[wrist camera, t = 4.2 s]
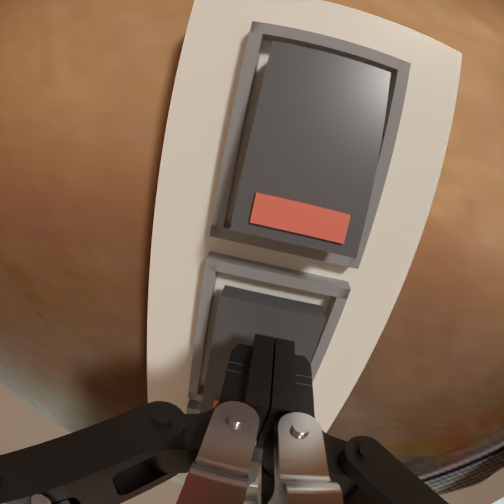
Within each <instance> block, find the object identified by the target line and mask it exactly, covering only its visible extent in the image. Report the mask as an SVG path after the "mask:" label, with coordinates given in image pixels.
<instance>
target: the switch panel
mask: <svg viewBox="0 0 504 504" xmlns="http://www.w3.org/2000/svg"><path fill="white" fill-rule="evenodd" d="M273 41H278V42H283V43H288V44H293V45H298V46H303V47H307V48H311V49H315V50H320V51H323V52H327V53H331V54H335V55H339V56H342V57H346V58H349V59H352V60H356V61H359V62H362V63H365V64H368V65H371V66H374V67H377V68H380V69H383V70H386V71H389V72H391V76H390V84H389V93H388V100H387V108H386V115H385V122H384V128H383V134H382V140H381V146H380V152H379V158H378V163H377V168H376V174H375V179H374V184H373V189H372V193H371V198H370V203H369V207H368V212H367V216H366V220H365V225H364V229H363V233H362V237H361V241H360V245H359V249H358V253H357V257H356V258H352V257H347V256H343V255H339V254H334V253H330V252H326V251H321V250H317V249H312V248H308V247H304V246H299V245H295V244H290V243H286V242H281V241H277V240H272V239H268V238H263V237H259V236H254V235H250V234H245V233H241V232H236V231H232V230H230V226H231V222H232V217H233V212H234V207H235V203H236V198H237V193H238V189H239V184H240V179H241V175H242V170H243V166H244V161H245V157H246V152H247V148H248V143H249V139H250V134H251V130H252V126H253V121H254V117H255V113H256V108H257V104H258V100H259V96H260V91H261V87H262V83H263V79H264V75H265V71H266V66H267V62H268V58H269V54H270V50H271V46H272V42H273ZM461 61H462V53H460V52H459V51H457V50H455V49H453V48H451V47H449V46H447V45H445V44H443V43H441V42H439V41H437V40H434V39H432V38H430V37H428V36H426V35H424V34H421V33H419V32H417V31H414V30H412V29H410V28H407V27H405V26H402V25H400V24H397V23H394V22H392V21H389V20H386V19H384V18H381V17H378V16H375V15H372V14H369V13H366V12H363V11H360V10H356V9H353V8H349V7H346V6H342V5H339V4H335V3H331V2H327V1H323V0H195V1H194V5H193V8H192V12H191V16H190V19H189V23H188V27H187V31H186V35H185V39H184V43H183V47H182V51H181V55H180V60H179V64H178V69H177V73H176V78H175V83H174V87H173V92H172V97H171V103H170V108H169V113H168V119H167V125H166V131H165V137H164V143H163V150H162V156H161V163H160V170H159V178H158V186H157V194H156V203H155V212H154V222H153V232H152V244H151V257H150V272H149V290H148V316H147V393H148V403H150V402H154V401H165V402H169V403H172V404H174V405H176V406H177V407H179V408H180V409H181V410H182V411H183V413H184V414H199V413H200V409H201V403H202V397H203V391H204V385H205V379H206V374H207V368H208V362H209V356H210V351H211V345H212V339H213V334H214V328H215V323H216V317H217V312H218V307H219V301H220V296H221V293H222V291H223V288H224V286H225V285H228V286H232V287H236V288H241V289H245V290H250V291H254V292H259V293H264V294H268V295H273V296H278V297H282V298H287V299H292V300H297V301H302V302H306V303H311V304H316V305H321V306H323V310H324V313H325V317H326V320H325V323H324V326H323V328H322V331H321V334H320V337H319V340H318V342H317V345H316V348H315V351H314V353H313V356H312V359H311V362H310V365H311V370H312V384H313V385H312V387H313V398H314V414H315V419H316V420H317V421H318V423H319V424H320V426H321V428H322V430H323V431H324V432H325V433H326V432H327V431H328V429H329V428H330V426H331V424H332V423H333V421H334V420H335V418H336V416H337V415H338V413H339V411H340V410H341V408H342V406H343V405H344V403H345V401H346V400H347V398H348V396H349V394H350V393H351V391H352V389H353V387H354V385H355V384H356V382H357V380H358V378H359V376H360V374H361V373H362V371H363V369H364V367H365V365H366V363H367V361H368V359H369V357H370V355H371V353H372V351H373V349H374V347H375V345H376V343H377V341H378V339H379V337H380V335H381V333H382V331H383V329H384V327H385V324H386V322H387V320H388V318H389V316H390V313H391V311H392V309H393V307H394V304H395V302H396V300H397V297H398V295H399V293H400V290H401V288H402V285H403V283H404V281H405V278H406V276H407V273H408V270H409V268H410V265H411V263H412V260H413V257H414V255H415V252H416V249H417V246H418V244H419V241H420V238H421V235H422V232H423V229H424V226H425V223H426V220H427V217H428V214H429V211H430V207H431V204H432V201H433V197H434V194H435V191H436V187H437V184H438V180H439V176H440V172H441V169H442V165H443V161H444V157H445V152H446V148H447V144H448V139H449V135H450V130H451V125H452V120H453V115H454V109H455V103H456V97H457V91H458V84H459V77H460V69H461ZM255 445H256V442H255ZM250 486H253V487H258V476H257V477H256V479H255V480H254V481H253V482H252V483H251V484H250Z"/></svg>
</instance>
